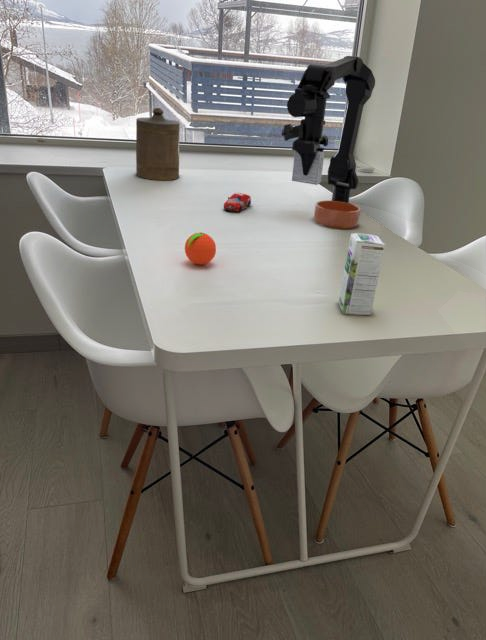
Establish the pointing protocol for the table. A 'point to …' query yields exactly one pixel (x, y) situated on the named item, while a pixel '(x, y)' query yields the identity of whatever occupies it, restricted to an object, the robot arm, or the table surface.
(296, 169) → the medicine box
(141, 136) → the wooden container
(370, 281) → the syrup box
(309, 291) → the table surface
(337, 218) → the bowl
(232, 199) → the race car
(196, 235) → the clementine
